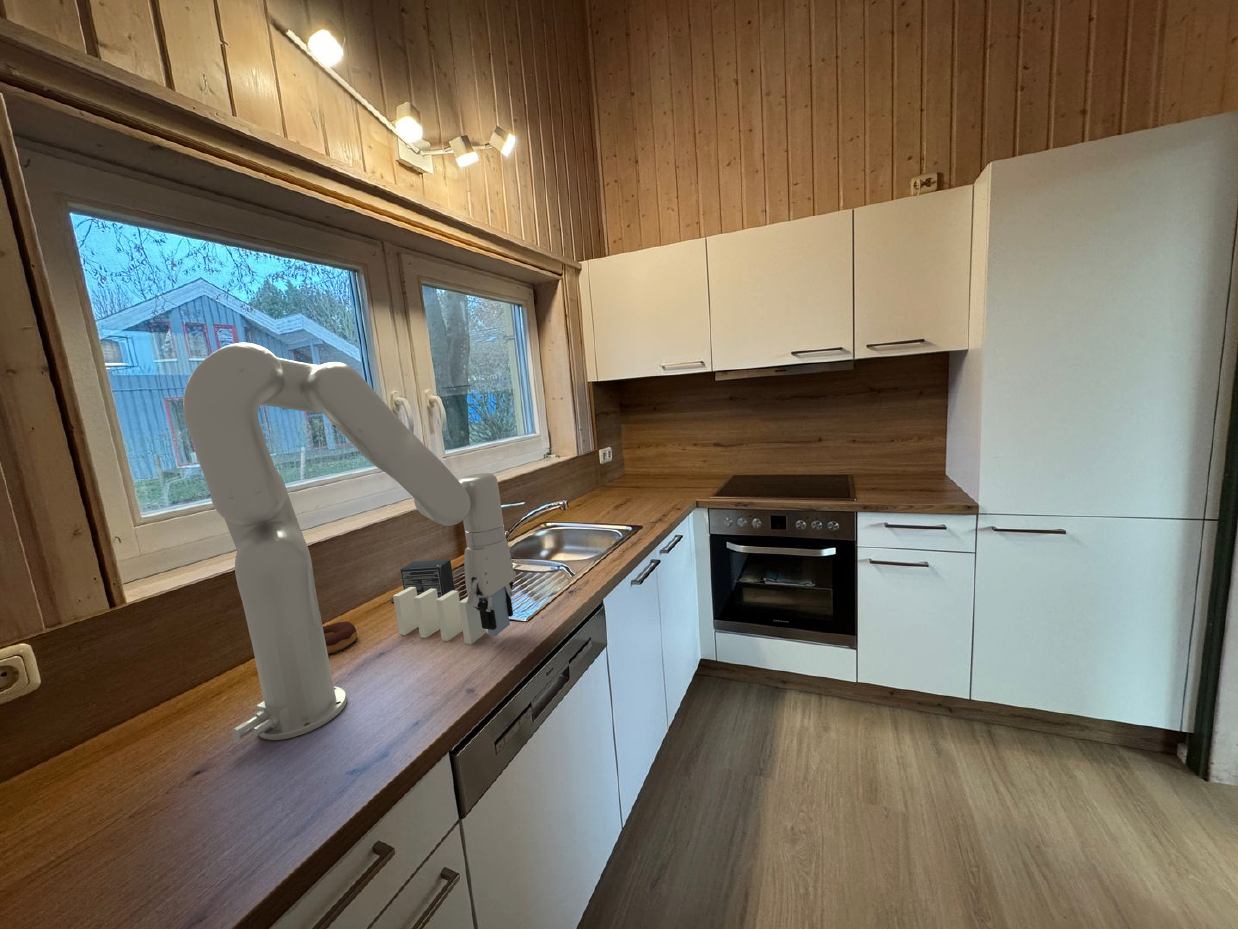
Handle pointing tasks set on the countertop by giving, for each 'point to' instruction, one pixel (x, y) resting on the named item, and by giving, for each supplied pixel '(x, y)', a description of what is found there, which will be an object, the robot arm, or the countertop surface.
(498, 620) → the domino
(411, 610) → the domino
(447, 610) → the domino
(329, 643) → the donut
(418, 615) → the domino
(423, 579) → the small box
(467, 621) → the domino
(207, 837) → the countertop surface
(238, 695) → the countertop surface
